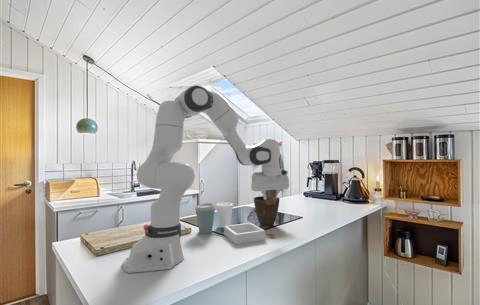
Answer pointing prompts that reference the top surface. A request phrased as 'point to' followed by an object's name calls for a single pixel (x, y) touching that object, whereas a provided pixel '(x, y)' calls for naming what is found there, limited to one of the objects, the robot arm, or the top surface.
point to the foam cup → (224, 214)
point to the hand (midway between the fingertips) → (270, 199)
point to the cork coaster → (271, 236)
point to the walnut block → (271, 197)
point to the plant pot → (266, 211)
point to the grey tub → (244, 233)
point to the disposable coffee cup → (205, 217)
